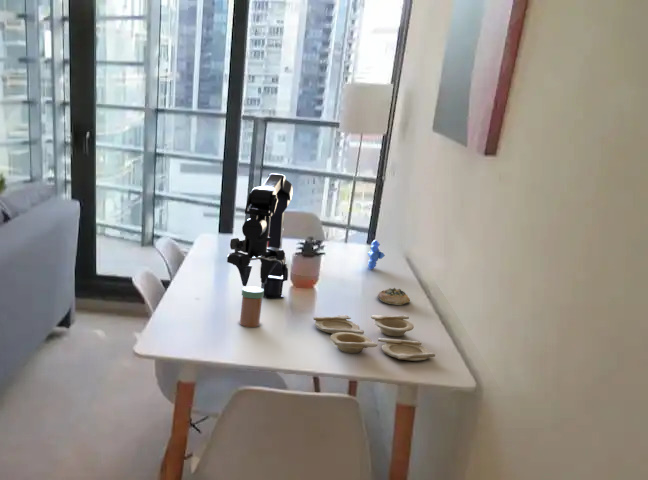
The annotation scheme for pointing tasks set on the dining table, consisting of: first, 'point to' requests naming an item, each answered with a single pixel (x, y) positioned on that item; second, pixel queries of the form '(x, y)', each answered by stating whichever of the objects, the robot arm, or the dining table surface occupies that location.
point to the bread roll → (393, 296)
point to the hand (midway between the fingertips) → (253, 284)
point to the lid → (252, 292)
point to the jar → (250, 312)
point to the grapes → (374, 254)
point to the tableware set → (388, 325)
